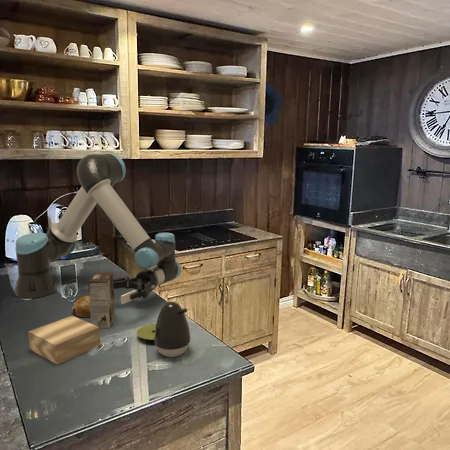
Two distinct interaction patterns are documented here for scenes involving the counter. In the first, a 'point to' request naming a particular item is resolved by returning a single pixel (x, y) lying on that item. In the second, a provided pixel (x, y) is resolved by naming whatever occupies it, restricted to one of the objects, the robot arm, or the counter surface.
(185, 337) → the pump dispenser
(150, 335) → the green textured disc
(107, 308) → the coffee box
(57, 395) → the counter surface
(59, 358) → the oak block
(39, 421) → the counter surface
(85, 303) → the bread roll
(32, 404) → the counter surface
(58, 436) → the counter surface
